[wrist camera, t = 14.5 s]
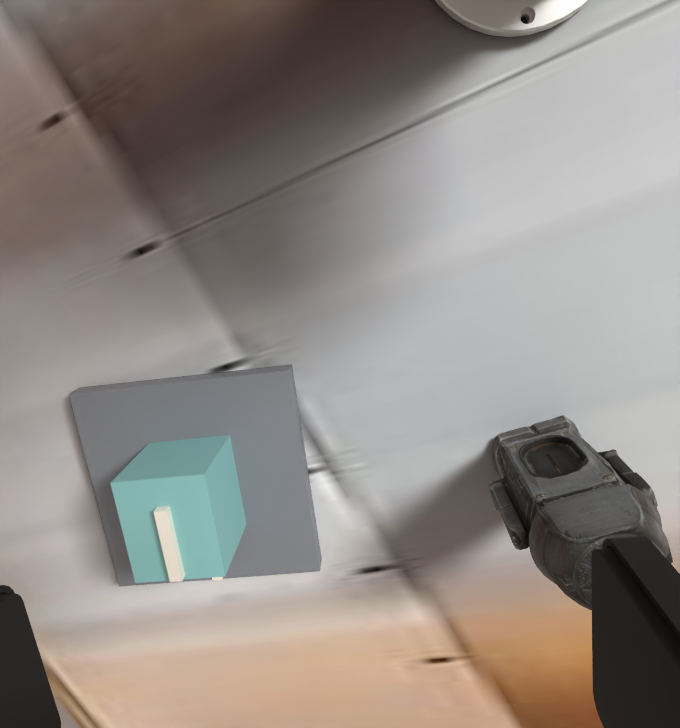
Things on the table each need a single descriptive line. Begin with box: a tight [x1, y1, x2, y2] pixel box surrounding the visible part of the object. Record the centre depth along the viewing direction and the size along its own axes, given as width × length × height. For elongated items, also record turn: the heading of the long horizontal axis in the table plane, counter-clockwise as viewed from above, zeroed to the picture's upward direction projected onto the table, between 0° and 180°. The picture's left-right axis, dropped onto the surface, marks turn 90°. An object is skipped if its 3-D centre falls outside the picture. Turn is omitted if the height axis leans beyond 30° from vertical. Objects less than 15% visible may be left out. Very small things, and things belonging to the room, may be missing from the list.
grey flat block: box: [69, 365, 321, 586], centre depth 39 cm, size 16×16×6 cm
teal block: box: [110, 435, 246, 583], centre depth 37 cm, size 7×6×7 cm
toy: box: [489, 416, 673, 610], centre depth 33 cm, size 8×6×15 cm
